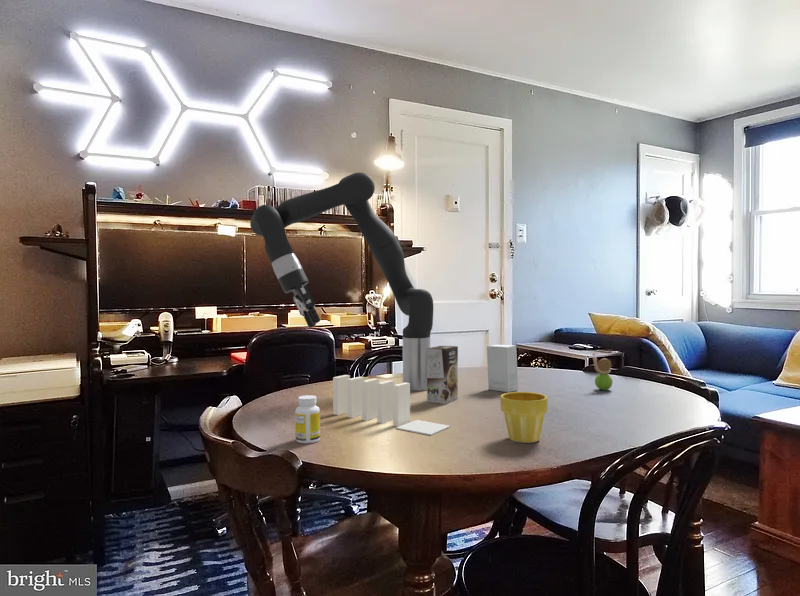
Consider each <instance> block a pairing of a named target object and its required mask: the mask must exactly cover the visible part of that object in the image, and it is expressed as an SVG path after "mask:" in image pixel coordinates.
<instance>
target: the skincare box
mask: <svg viewBox="0 0 800 596" xmlns="http://www.w3.org/2000/svg"><path fill="white" fill-rule="evenodd" d="M517 355H518V354H517V345H515V344H497V343H496V344H492V345H491V344H490V345H487V346H486V359H487V361H486V362H487V363H486V364H487V382H488V383H487V384H488V390H489V391H495V392H496V391H498V392H504V393H510V392H518V390H519V386H518V385H519V381H518V377H519V376H518V359H517V357H518V356H517Z"/></svg>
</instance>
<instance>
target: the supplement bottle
mask: <svg viewBox="0 0 800 596" xmlns="http://www.w3.org/2000/svg"><path fill="white" fill-rule="evenodd" d="M297 401H298V402H297V403H298V406H297V407H296V408H295V411H294V412H295V413H294V414H295V441H296V442H297V443H299V444H312V443H313V444H314V443H318V442H319V441H320V440H321V415H320V414H321V409H320V407H319V406H317V405H316V404H317V396H316V395H300V396H298V399H297Z"/></svg>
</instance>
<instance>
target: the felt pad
mask: <svg viewBox="0 0 800 596" xmlns="http://www.w3.org/2000/svg"><path fill="white" fill-rule="evenodd" d="M451 427H452V426H451V425H447V424H442V423H438V422H437V423H436V422H431V421H425V420H420V419H416V420H413V421H410V423H407V424H404V425H402V426H399V427H397V426H395V429H396V430H399V431H400V430H401V431H406V432H411V433H415V434H421V435H428V436H433V435H435V434H438V433H440V432H442V431H444V430H448V429H450V428H451Z"/></svg>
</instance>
